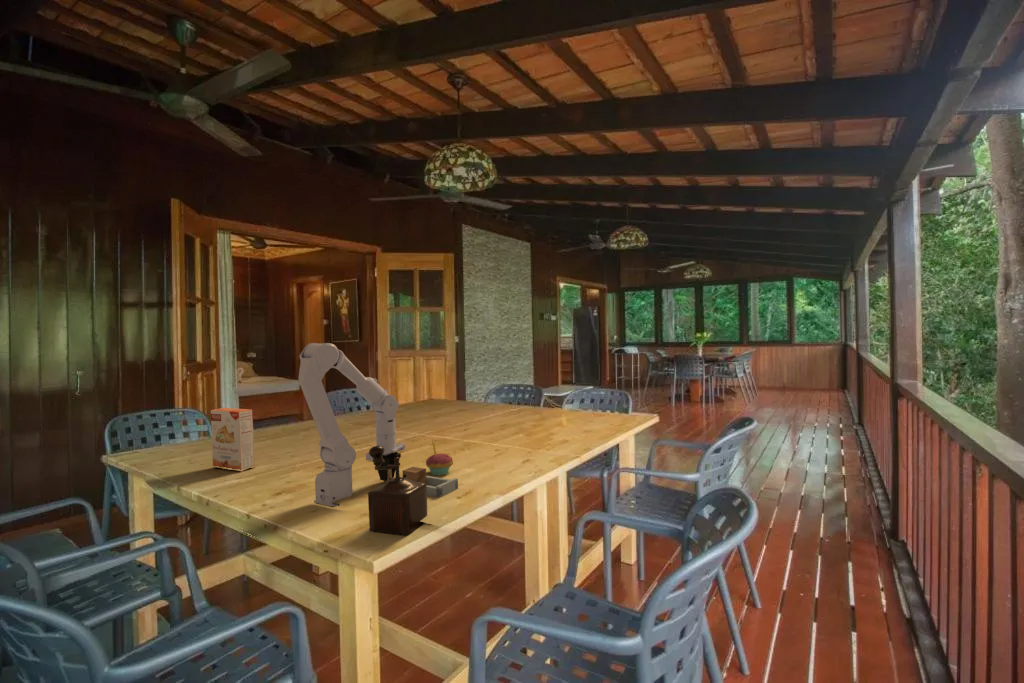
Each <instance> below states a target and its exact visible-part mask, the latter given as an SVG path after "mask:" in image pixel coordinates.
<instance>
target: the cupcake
mask: <svg viewBox="0 0 1024 683" xmlns="http://www.w3.org/2000/svg"><path fill="white" fill-rule="evenodd" d="M431 440H432V441H431V443H432V447H433V448H432V449H433V453H434V454H432V455H430V456H429V457H428V458H427V459H426V460H425V465H426V468H428V469H429V471H430V474H431V475H434V476H442V475H447V474H448V473H449V470H450V468H451V467H452V466H453V465H454V460H453V457H451V455H449V454H448V453H437V448H436V445H435V444H436V442H435V441H434V439H431Z"/></svg>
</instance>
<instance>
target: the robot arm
mask: <svg viewBox="0 0 1024 683" xmlns="http://www.w3.org/2000/svg"><path fill="white" fill-rule="evenodd" d="M299 360H300V364H299V372H298V382H299V386H300V388H301V391H302V392H303V393H302V394H303V396H304V398H305V400H306V403H307V406H308V409H309V412H310V413H311V416H312V418H313V421H314V424H315V426H316V429H317V432H318V434H319V437H320V440H319V442H318V445H319V449H320V452H319V457H320V459H321V461H322V462H323V463H324V465H323V466H324V469H323V470H322V471H321V472H319V473H318V474H317V475H316V477H315V479H314V481H315V482H314V486H315V487H314V488H315V500H313V503H315V504H319V505H324V506H329V507H332V508H333V507H337V506H339V505H340V503H338V502H335V501H339V500H342V499H345V498H349V497H351V496H352V495H353V468H352V467H353V464H354V463H355V461H356V458H357V451H356V450H355V448H354V447H353V446H352V445H350V442H349V441H348V439H347V438H346V437H345V436H344V434H343V433H342V432H341V429H340V427H339V424H338V422H337V419H336V416H335V414H334V410H333V409H332V405H331V403H330V400H329V397H328V395H327V392H326V390H325V387H324V384H323V382H322V380H323V379H324V377H325V375H326V373H328V371H330V369H336V370H338V371H339V372H340V373H341V374H342V375H343V376H344V377H346V378H347V379H348V380H350V381H351V382H352V383H353V384H354V385H356V393H357V394H359V395H360V396H361V397H362V398H363V399H364V400H365V401H366V402H368V403H369V404H370V409H372V410H373V411H374V412H375V439H376V440H375V441H376V442H375V446H378V445H380V446H382V447H383V448H384V453H383V457H382V458H383V459H384V461H385V462H384V463H382V465H381V466H388V464H390V465H394V463H395V461H394V459H395V458H396V457H398V458H399V460H400V459H401V457H402V454H401V453H400V451H401V452H402V451H406V443H401V442H400V443H397V440H396V439H397V438H396V417H397V415H396V414H397V411H398V409H399V407H400V406H399V405H400V403H399V402H398V400H397V398H396V397H395V396H394V395H392V394H389V393H388V392H389V391H388V390H387V389H386V388H383V387H382V386H381V385H380V384H379V383H378V379H377V378H376V377H370V376H364V374H363V373H362V372H361V371H360V370H359V369H358V368H357V367H356V366H355V365H354V363H352V362H351V361H350V359H349V358H348V357H347V356H346V354H344V352H343V351H342V350H340V349H339V348H338V347H337V346H336V345H335V344H333V343H330V342H324V343H318V342H310V343H308V344H307V345H305V347H304V348H303V350H302V351H301V352H300V354H299ZM365 461H369V462H373V464H374V459H373V458H372V457H371V456H370V455H369V452H367V453H365ZM375 466H376V465H374V467H375ZM381 466H379V467H381ZM387 471H388V469H387V470H377V474H378V476H379V480H380V481H383V482H384V481H386V480H387ZM395 475H396V472H395V467H394V468H392V478H395Z"/></svg>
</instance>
